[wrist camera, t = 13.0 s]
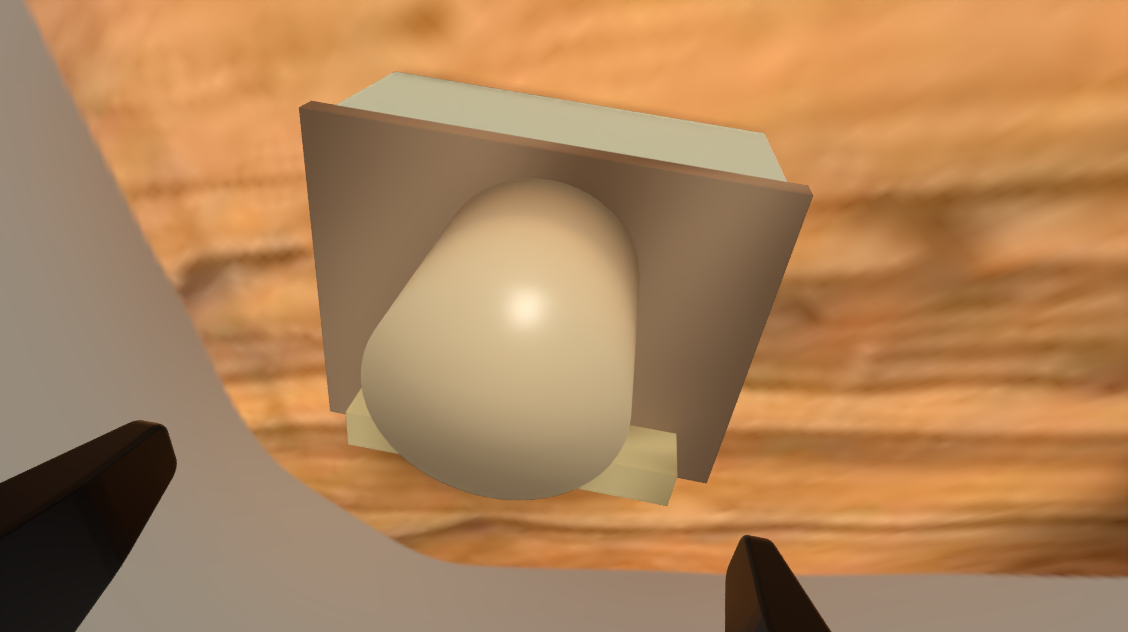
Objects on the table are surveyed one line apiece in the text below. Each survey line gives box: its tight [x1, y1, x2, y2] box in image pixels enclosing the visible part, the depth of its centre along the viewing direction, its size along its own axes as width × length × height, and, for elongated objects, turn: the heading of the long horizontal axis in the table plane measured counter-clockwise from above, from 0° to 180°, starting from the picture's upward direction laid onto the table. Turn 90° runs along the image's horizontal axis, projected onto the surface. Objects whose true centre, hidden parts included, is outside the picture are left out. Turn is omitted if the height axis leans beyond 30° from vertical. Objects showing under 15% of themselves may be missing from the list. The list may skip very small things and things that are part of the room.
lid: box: [299, 101, 813, 506], centre depth 16 cm, size 12×9×2 cm
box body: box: [337, 72, 787, 182], centre depth 19 cm, size 11×9×4 cm
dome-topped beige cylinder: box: [361, 178, 640, 500], centre depth 13 cm, size 5×5×5 cm
